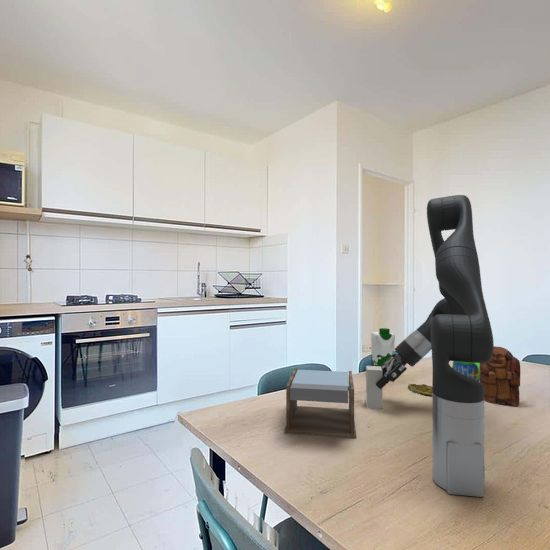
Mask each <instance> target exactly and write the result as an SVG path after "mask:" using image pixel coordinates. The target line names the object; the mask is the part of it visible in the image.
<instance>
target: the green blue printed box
mask: <svg viewBox="0 0 550 550" xmlns="http://www.w3.org/2000/svg"><path fill="white" fill-rule="evenodd" d="M451 367H452V368H453V369H455V370H456V371H458V372H459V373H461V374H463V375H465V376H468V377H470V378H473V379H475V380H477V381H479V382H480V372H481V371H480V363H471V362H458V361H452V365H451Z"/></svg>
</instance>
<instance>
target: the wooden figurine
mask: <svg viewBox="0 0 550 550" xmlns="http://www.w3.org/2000/svg"><path fill="white" fill-rule="evenodd" d="M480 371H481V372H480V381H479V382H480V383H481V384H482V385H483V387H484V402H487V403H491V404H497V405H503V406H511V407H518V406H519V405H520V387H521V363H520V360H519V359H518V358H517V357H515V356H514V355H513V353H512V352H511V351H510V350H508V349H507V348H505V347H502V346H496V345H495V346H494V350H493V355H492V358H491V359H490V360H489V361H488V362H485V363H480Z"/></svg>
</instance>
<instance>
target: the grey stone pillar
mask: <svg viewBox="0 0 550 550" xmlns="http://www.w3.org/2000/svg"><path fill="white" fill-rule="evenodd" d="M381 378H382V368H381V366H372V365H365V404H366V408H367V409H374V410H375V409H379V410H383V409H384V408H383V407H384V406H383V405H384V404H383V388H382V389H379V388H378V387H377V386H376V382H377V381H379V380H380V379H381Z"/></svg>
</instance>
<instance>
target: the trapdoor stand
mask: <svg viewBox="0 0 550 550" xmlns="http://www.w3.org/2000/svg"><path fill="white" fill-rule="evenodd" d="M297 370H298V368H297V367H296V368H294V369H293V371H292V373H291V374H290V377H289V379H288V381H287V383H286V387H285V388H286V389H285V391H286V393H285V394H286V396H285V397H286V398H285V399H286V402H285V403H286V405H285V409H286V410H285V413H286V414H285V417H286V418H285V420H286V421H285V422H286V423H285V428H284V434H293V435H306V436H317V437H318V436H320V437H329V438H330V437H333V438H344V439H345V438H347V439H357V429H356V423H355V386H354V379H353V372H352V370H348V380H349V391H348V408H338V407H337V408H336V407H334V408H333V407H321V406H320V407H319V406H304V405H298V400H290V387H291V385H292V382H293V379H294V377H295V375H296V373H297Z"/></svg>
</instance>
